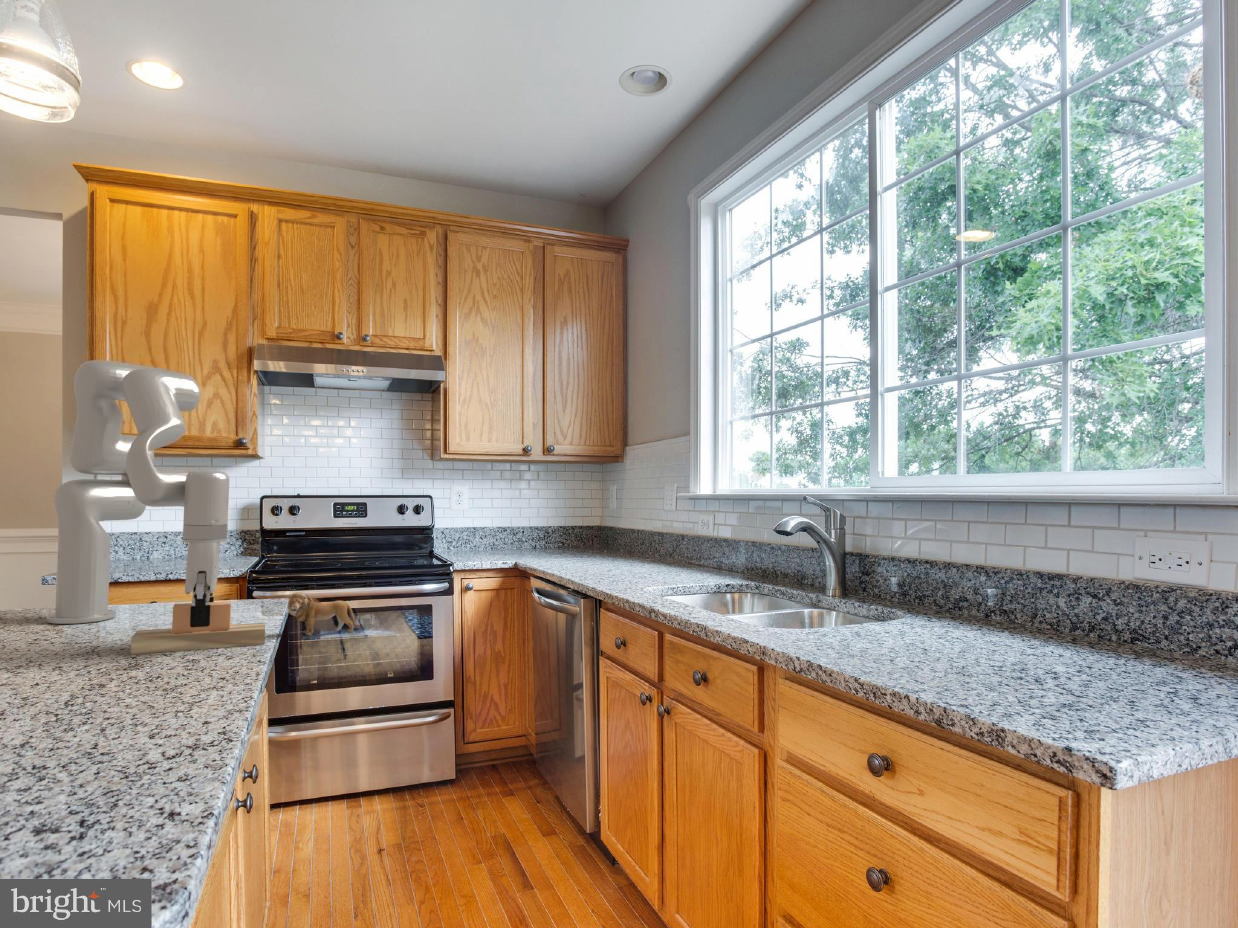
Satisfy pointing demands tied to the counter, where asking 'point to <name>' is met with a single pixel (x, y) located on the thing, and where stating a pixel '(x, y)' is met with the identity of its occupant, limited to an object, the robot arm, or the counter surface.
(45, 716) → the counter surface
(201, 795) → the counter surface
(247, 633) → the rail
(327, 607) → the lion figurine
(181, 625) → the clip
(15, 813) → the counter surface
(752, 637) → the counter surface
